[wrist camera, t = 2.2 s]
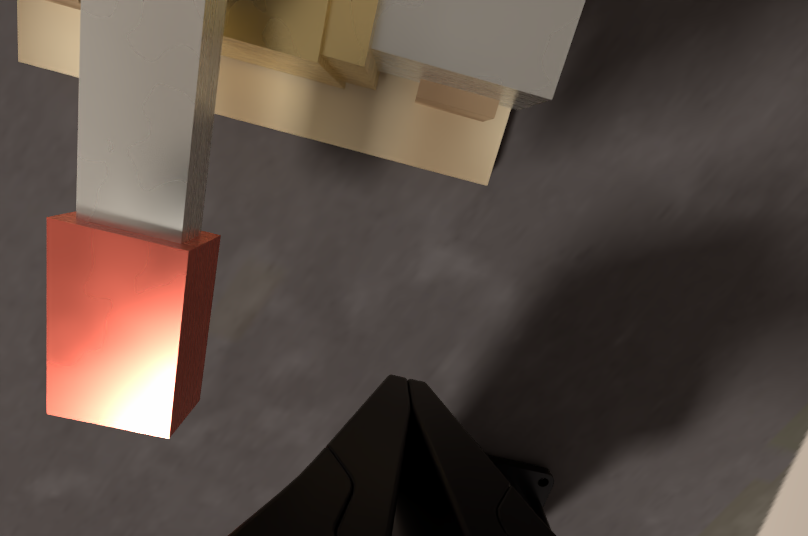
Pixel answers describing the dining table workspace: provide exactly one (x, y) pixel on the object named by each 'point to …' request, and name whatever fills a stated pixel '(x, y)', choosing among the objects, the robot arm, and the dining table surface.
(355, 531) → the robot arm
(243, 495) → the dining table surface
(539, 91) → the valve and pipe
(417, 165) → the birch rig board
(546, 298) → the dining table surface
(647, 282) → the dining table surface
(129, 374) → the ball valve lever
